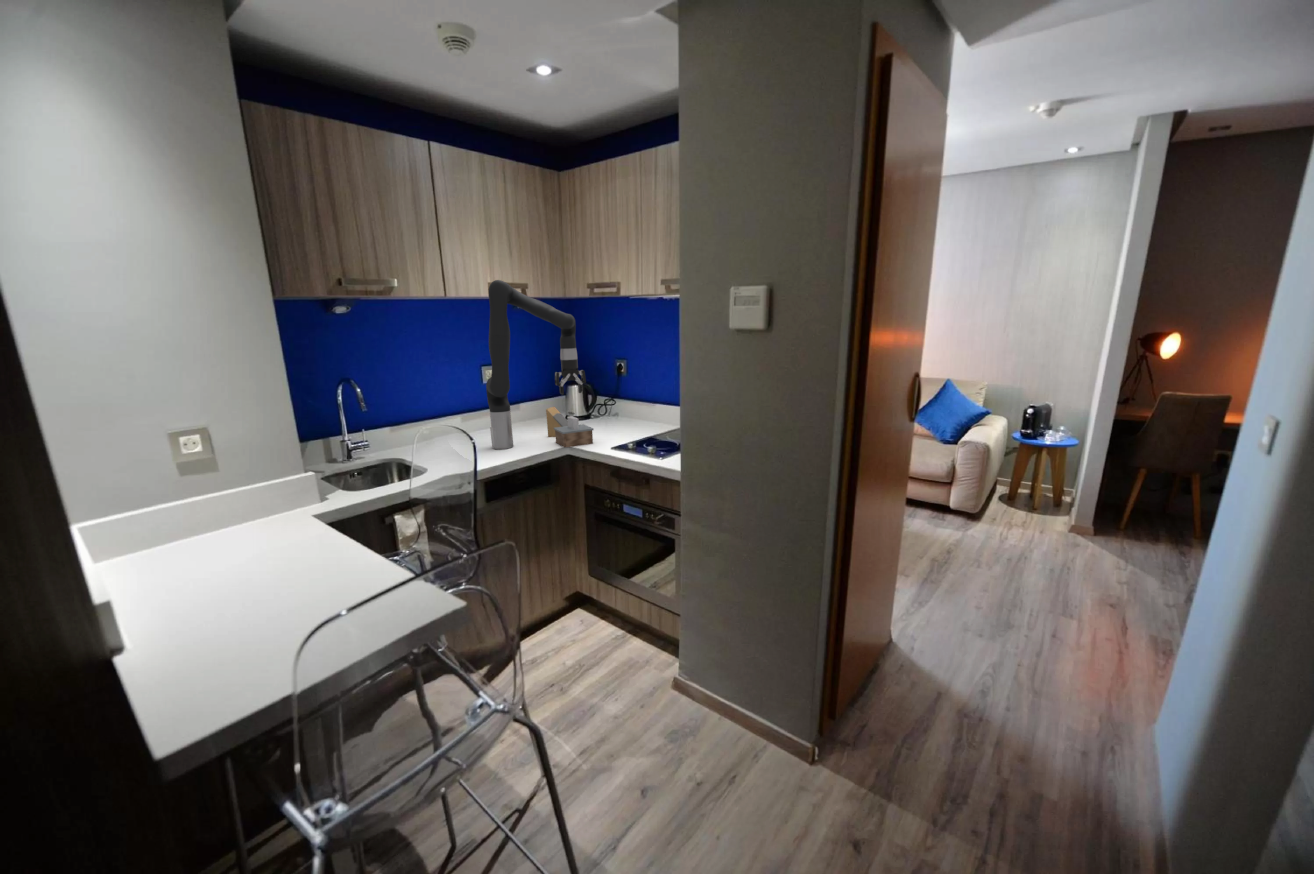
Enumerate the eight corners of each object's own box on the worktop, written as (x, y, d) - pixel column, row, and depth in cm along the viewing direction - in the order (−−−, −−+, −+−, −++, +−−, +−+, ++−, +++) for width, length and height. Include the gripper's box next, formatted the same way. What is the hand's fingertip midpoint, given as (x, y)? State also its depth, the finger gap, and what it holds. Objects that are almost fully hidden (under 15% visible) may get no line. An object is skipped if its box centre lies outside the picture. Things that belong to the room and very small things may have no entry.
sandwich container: (575, 439, 259) (573, 409, 256) (547, 438, 264) (545, 408, 260) (582, 435, 267) (581, 406, 264) (555, 434, 272) (553, 406, 268)
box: (564, 448, 240) (563, 433, 239) (556, 443, 250) (555, 429, 249) (593, 444, 247) (592, 430, 245) (583, 439, 257) (582, 426, 255)
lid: (563, 435, 238) (562, 421, 237) (553, 431, 249) (552, 417, 248) (593, 431, 245) (593, 417, 244) (583, 427, 256) (582, 414, 255)
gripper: (556, 359, 233) (559, 396, 237) (586, 357, 240) (588, 393, 244) (551, 359, 240) (554, 394, 243) (580, 357, 246) (582, 391, 250)
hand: (571, 393), depth 243 cm, fingers open, 8 cm apart
